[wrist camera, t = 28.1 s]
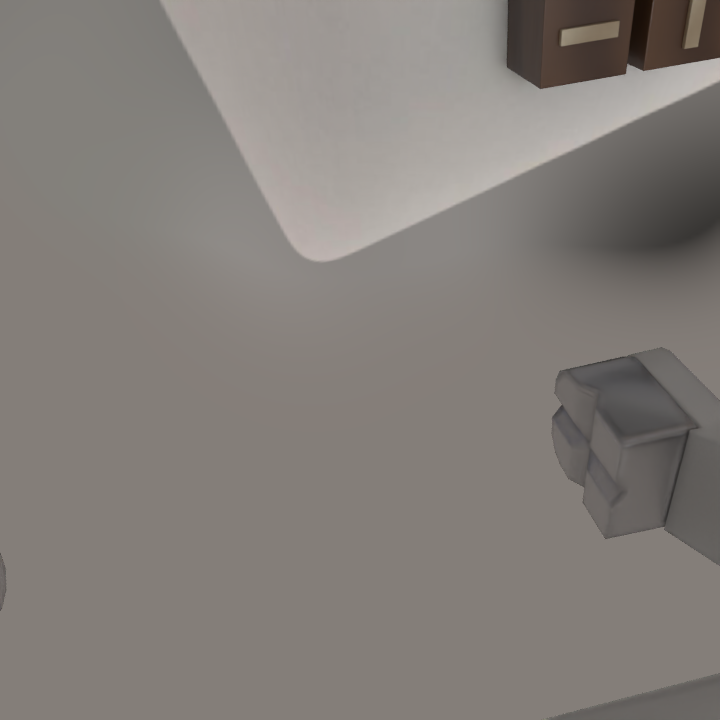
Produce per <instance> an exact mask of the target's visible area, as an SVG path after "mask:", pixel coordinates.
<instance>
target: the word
mask: <svg viewBox="0 0 720 720" xmlns="http://www.w3.org/2000/svg"><path fill="white" fill-rule="evenodd" d="M715 58H720V0H509V5H508V48H507V68H509V69H511V70H512V71H514V72H515V73H517V74H518V75H520V76H521V77H523V78H524V79H526V80H527V81H529V82H531V83H532V84H534V85H535V86H537V87H538V88H540V89H543V88H549V87H554V86H560V85H566V84H572V83H577V82H583V81H589V80H595V79H600V78H606V77H612V76H618V75H623V74H626V68H627V64H630V65H632V66H634V67H636V68H638V69H640V70H643V71H646V70H652V69H657V68H663V67H669V66H675V65H680V64H686V63H692V62H698V61H703V60H709V59H715Z"/></svg>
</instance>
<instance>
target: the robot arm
mask: <svg viewBox="0 0 720 720" xmlns="http://www.w3.org/2000/svg"><path fill="white" fill-rule="evenodd" d="M555 394H556V396H557V397H558V399H559V401H560V402H561V404H562V406H561V407H560V408H559V409H558V410H557V412H556V413H555V414H554V416H553V417H552V438H553V443H554V449H555V453H556V455H557V458H558V460H559V463H560V465H561V467H562V469H563V471H564V472H565V474H566V476H567V477H568V479H570V480H571V481H573V482H575V483H577V484H579V485H581V486H583V487H584V495H583V504H584V505H585V507H586V509H587V510H588V512H589V513H590V515H591V517H592V518H593V520H594V521H595V523H596V525H597V527H598V528H599V530H600V531H601V533H602V535H603V536H604V538H605V539H608V538H612V537H617V536H622V535H627V534H632V533H637V532H641V531H646V530H650V529H655V528H660V527H665V528H664V530H665V531H667V532H668V533H670V534H672V535H673V536H675V537H676V538H678V539H679V540H681V541H682V542H684V543H685V544H687V545H688V546H690V547H691V548H693V549H694V550H696V551H698V552H699V553H701V554H702V555H704V556H705V557H707V558H708V559H710V560H711V561H713V562H714V563H716V564H718V565H719V566H720V400H719V399H718V398H717V397H716V396H715V395H714V394H713V393H712V392H711V391H710V390H709V389H708V388H707V387H706V386H705V385H704V384H703V383H702V382H701V381H700V380H699V379H698V378H697V377H696V376H695V375H694V374H693V373H692V372H691V371H690V370H689V369H688V368H687V367H686V366H685V365H684V364H683V363H682V362H681V361H680V360H679V359H678V358H677V357H676V356H675V355H674V354H673V353H672V352H671V351H670V350H667V349H665V348H662V347H661V348H657V349H653V350H648V351H644V352H639V353H635V354H631V355H628V356H627V357H620V358H615V359H611V360H607V361H602V362H597V363H593V364H588V365H584V366H580V367H575V368H570V369H566V370H562V371H560V372H559V374H558V376H557V378H556V384H555ZM5 593H6V571H5V565H4V562H3V559H2V556H1V554H0V610H1V609H2V606H3V602H4V597H5ZM543 720H720V673H719V674H715V675H711V676H707V677H703V678H699V679H696V680H692V681H688V682H684V683H681V684H677V685H673V686H669V687H666V688H661V689H657V690H654V691H650V692H646V693H642V694H638V695H635V696H631V697H627V698H623V699H619V700H615V701H612V702H608V703H604V704H600V705H597V706H592V707H589V708H585V709H581V710H577V711H574V712H570V713H566V714H562V715H558V716H554V717H550V718H547V719H543Z"/></svg>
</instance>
